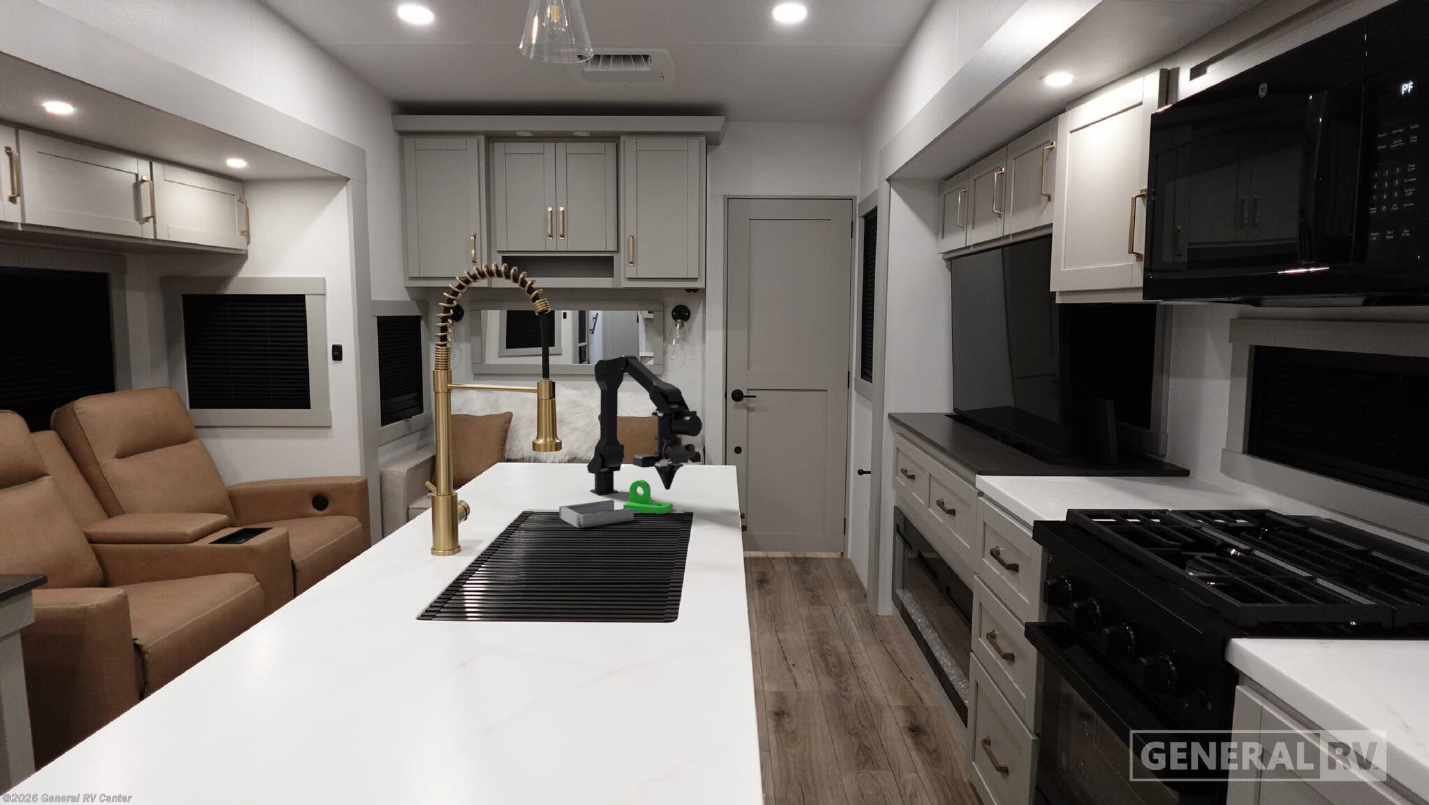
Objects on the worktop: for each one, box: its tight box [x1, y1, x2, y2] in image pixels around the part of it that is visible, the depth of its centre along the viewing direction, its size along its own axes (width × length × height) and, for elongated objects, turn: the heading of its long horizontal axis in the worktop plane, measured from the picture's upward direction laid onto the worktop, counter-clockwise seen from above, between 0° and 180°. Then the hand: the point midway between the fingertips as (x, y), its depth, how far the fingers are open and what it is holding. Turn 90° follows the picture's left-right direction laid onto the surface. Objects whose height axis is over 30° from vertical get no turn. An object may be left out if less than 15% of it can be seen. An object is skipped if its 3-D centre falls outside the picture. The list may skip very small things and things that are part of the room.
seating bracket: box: [558, 499, 634, 529], centre depth 193 cm, size 12×15×3 cm
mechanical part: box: [622, 479, 674, 515], centre depth 203 cm, size 12×6×8 cm, turn 72°
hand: (667, 489), depth 205 cm, fingers closed
